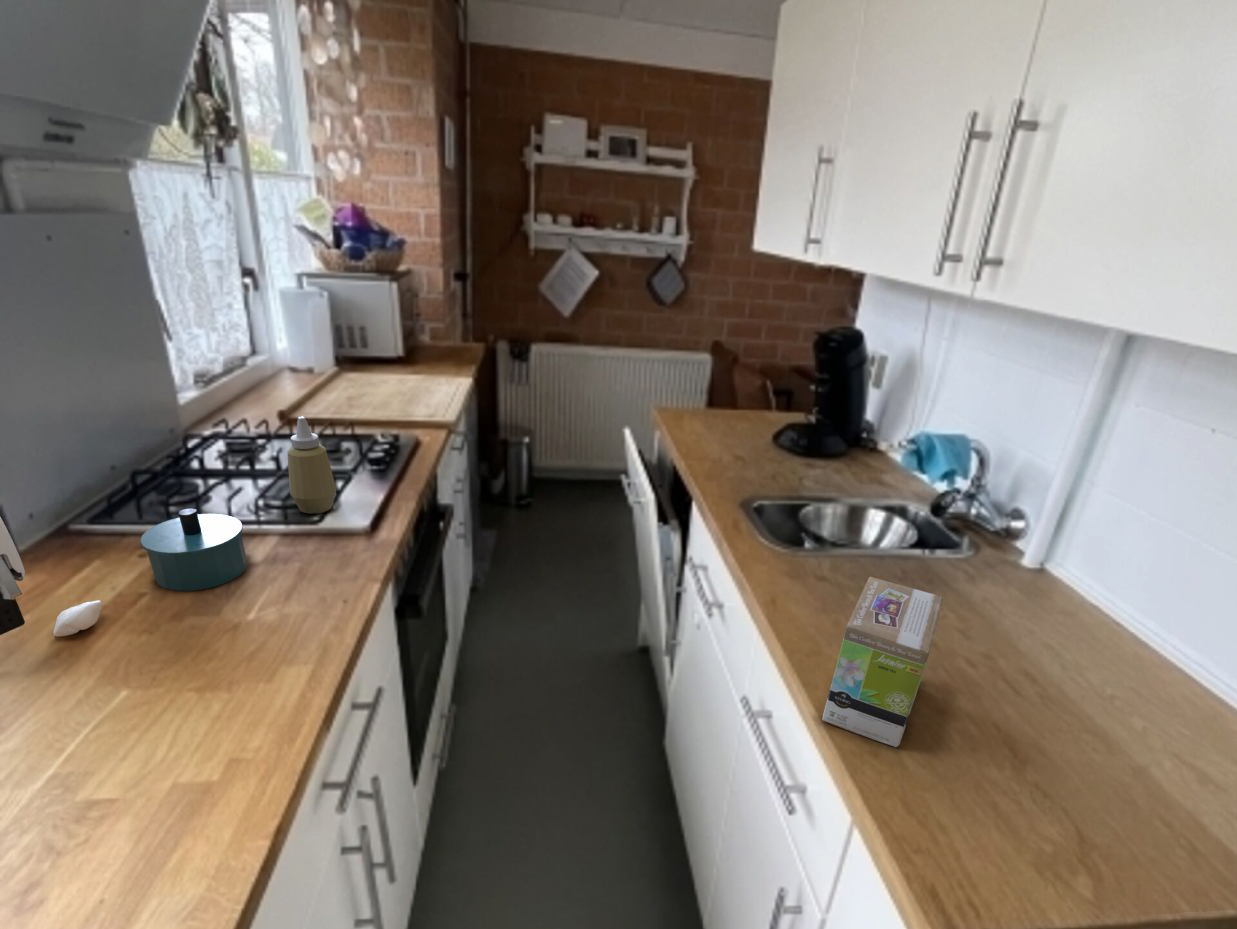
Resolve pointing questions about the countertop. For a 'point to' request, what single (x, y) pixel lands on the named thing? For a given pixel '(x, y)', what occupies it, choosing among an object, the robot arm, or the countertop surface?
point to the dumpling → (77, 618)
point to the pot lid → (191, 533)
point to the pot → (200, 567)
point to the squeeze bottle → (310, 472)
